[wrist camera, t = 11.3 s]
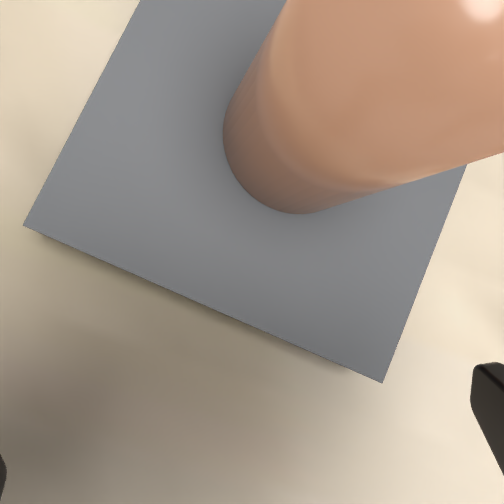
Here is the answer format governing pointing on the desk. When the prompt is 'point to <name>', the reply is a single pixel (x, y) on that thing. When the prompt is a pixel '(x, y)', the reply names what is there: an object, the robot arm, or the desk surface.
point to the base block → (231, 196)
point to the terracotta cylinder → (366, 99)
